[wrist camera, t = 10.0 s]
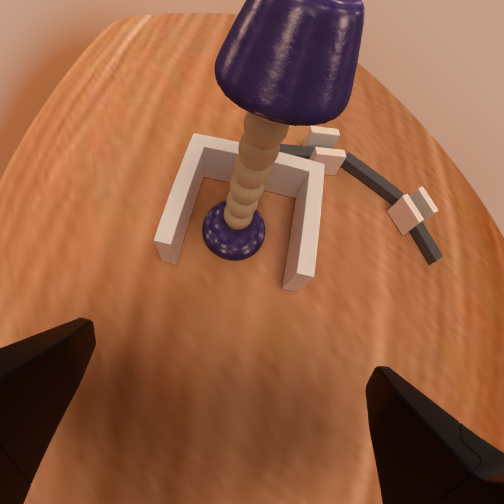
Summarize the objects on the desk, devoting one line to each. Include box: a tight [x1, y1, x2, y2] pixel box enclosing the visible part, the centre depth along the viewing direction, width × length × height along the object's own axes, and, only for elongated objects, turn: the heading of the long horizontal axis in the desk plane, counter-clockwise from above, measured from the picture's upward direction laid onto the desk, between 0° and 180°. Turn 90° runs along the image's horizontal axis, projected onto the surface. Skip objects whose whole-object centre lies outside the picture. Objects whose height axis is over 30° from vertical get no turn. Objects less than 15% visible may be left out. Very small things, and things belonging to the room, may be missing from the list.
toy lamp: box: [203, 0, 364, 260], centre depth 13 cm, size 5×5×17 cm
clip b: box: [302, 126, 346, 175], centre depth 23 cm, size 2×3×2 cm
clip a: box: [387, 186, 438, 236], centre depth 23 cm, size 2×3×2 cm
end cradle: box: [154, 133, 325, 292], centre depth 20 cm, size 8×9×4 cm
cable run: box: [279, 144, 442, 265], centre depth 23 cm, size 6×17×1 cm, turn 65°
